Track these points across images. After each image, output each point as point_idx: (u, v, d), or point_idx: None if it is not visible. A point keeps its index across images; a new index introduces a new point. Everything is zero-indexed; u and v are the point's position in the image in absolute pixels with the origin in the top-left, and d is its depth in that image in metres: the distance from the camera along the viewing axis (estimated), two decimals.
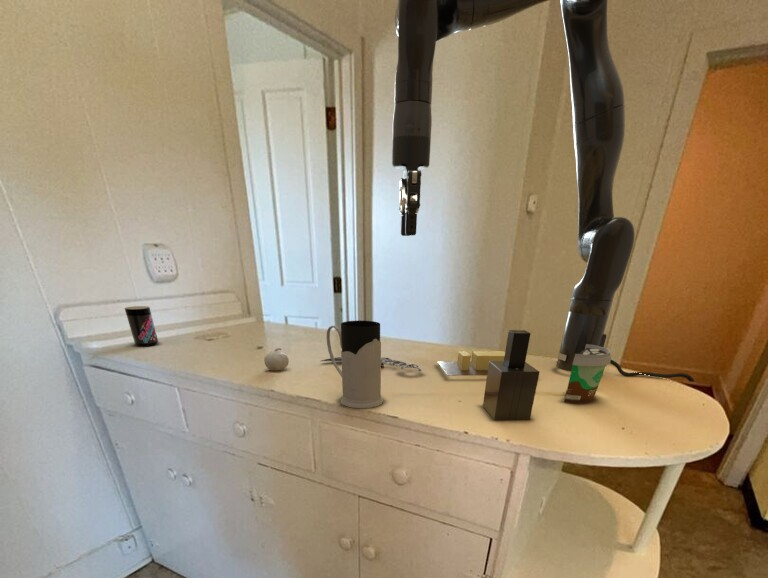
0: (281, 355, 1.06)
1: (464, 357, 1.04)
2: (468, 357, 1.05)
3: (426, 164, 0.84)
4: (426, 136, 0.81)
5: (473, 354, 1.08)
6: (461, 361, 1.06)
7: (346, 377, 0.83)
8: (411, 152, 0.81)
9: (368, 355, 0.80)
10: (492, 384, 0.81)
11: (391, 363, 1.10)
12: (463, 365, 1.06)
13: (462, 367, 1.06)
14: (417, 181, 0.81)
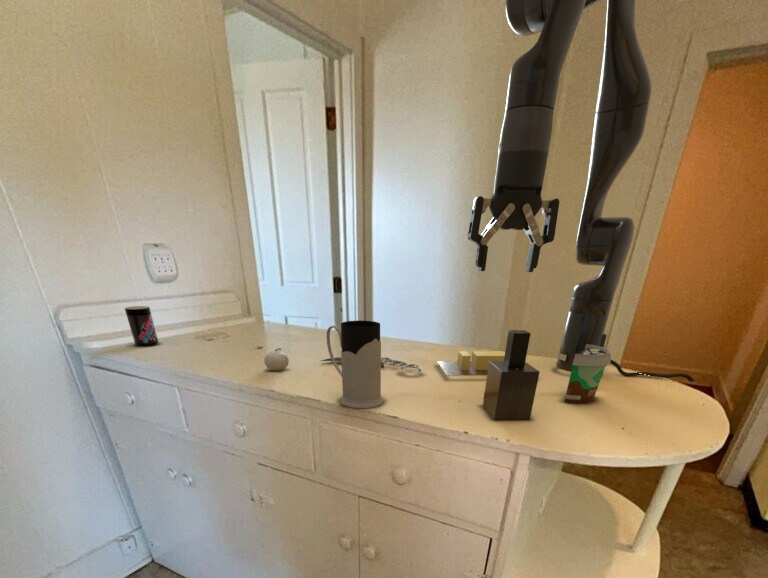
0: (281, 355, 1.06)
1: (464, 357, 1.04)
2: (468, 357, 1.05)
3: (509, 184, 0.66)
4: (510, 150, 0.64)
5: (473, 354, 1.08)
6: (461, 361, 1.06)
7: (346, 377, 0.83)
8: (496, 173, 0.67)
9: (368, 355, 0.80)
10: (492, 384, 0.81)
11: (391, 363, 1.10)
12: (463, 365, 1.06)
13: (462, 367, 1.06)
14: (474, 209, 0.69)
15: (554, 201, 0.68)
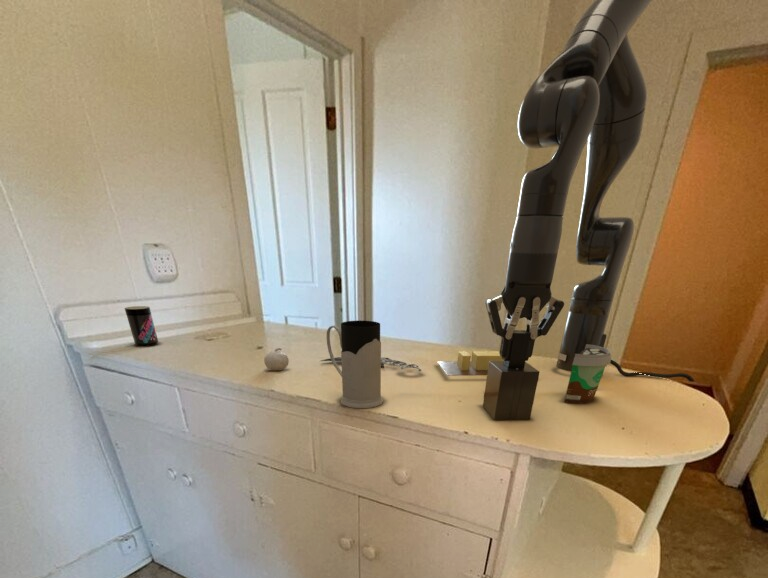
0: (281, 355, 1.06)
1: (464, 357, 1.04)
2: (468, 357, 1.05)
3: (521, 282, 0.69)
4: (522, 252, 0.67)
5: (473, 354, 1.08)
6: (461, 361, 1.06)
7: (346, 377, 0.83)
8: (507, 269, 0.71)
9: (368, 355, 0.80)
10: (492, 384, 0.81)
11: (391, 363, 1.10)
12: (463, 365, 1.06)
13: (462, 367, 1.06)
14: (490, 312, 0.73)
15: (560, 303, 0.73)
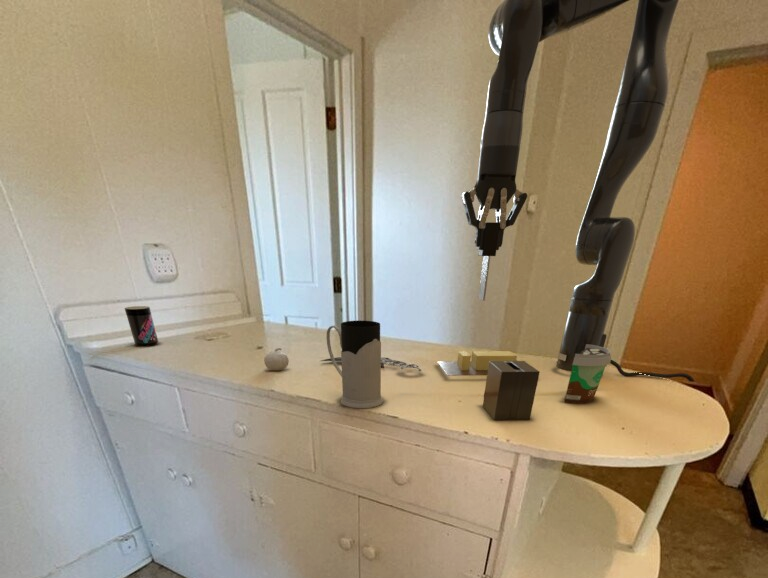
0: (281, 355, 1.06)
1: (464, 357, 1.04)
2: (468, 357, 1.05)
3: (490, 172, 0.83)
4: (490, 145, 0.81)
5: (473, 354, 1.08)
6: (461, 361, 1.06)
7: (346, 377, 0.83)
8: (479, 164, 0.84)
9: (368, 355, 0.80)
10: (492, 384, 0.81)
11: (391, 363, 1.10)
12: (463, 365, 1.06)
13: (462, 367, 1.06)
14: (465, 203, 0.87)
15: (524, 194, 0.86)
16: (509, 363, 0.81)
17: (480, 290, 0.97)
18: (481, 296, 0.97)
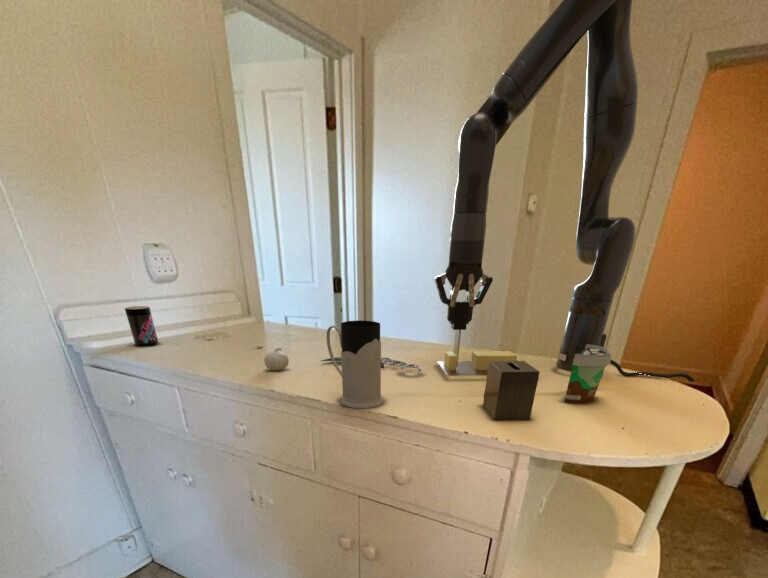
0: (281, 355, 1.06)
1: (450, 357, 1.04)
2: (454, 357, 1.04)
3: (458, 262, 0.93)
4: (457, 240, 0.91)
5: (473, 354, 1.08)
6: (448, 361, 1.06)
7: (346, 377, 0.83)
8: (449, 253, 0.95)
9: (368, 355, 0.80)
10: (492, 384, 0.81)
11: (391, 363, 1.10)
12: (450, 365, 1.05)
13: (449, 367, 1.06)
14: (437, 285, 0.97)
15: (489, 278, 0.97)
16: (509, 363, 0.81)
17: None
18: None
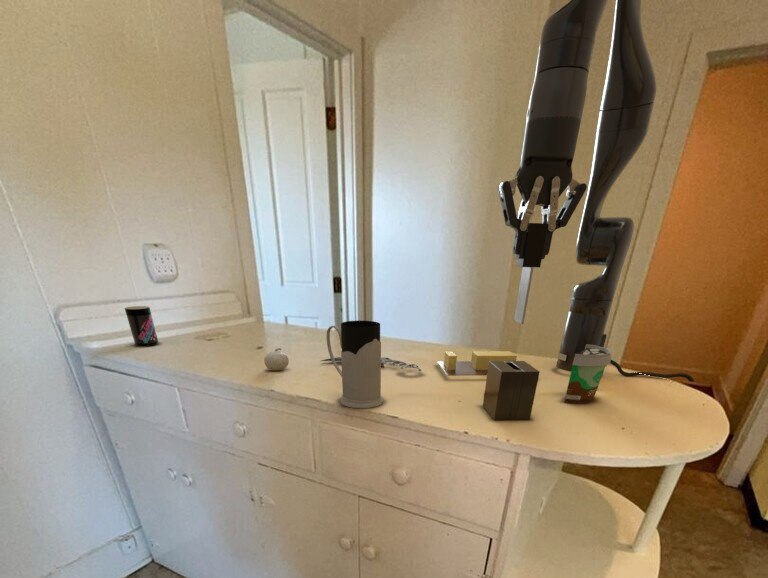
0: (281, 355, 1.06)
1: (450, 357, 1.04)
2: (454, 357, 1.04)
3: (539, 155, 0.61)
4: (541, 117, 0.59)
5: (473, 354, 1.08)
6: (447, 361, 1.06)
7: (346, 377, 0.83)
8: (523, 144, 0.63)
9: (368, 355, 0.80)
10: (492, 384, 0.81)
11: (391, 363, 1.10)
12: (449, 365, 1.05)
13: (448, 367, 1.06)
14: (503, 196, 0.65)
15: (582, 185, 0.65)
16: (509, 363, 0.81)
17: (517, 310, 0.75)
18: (518, 318, 0.75)
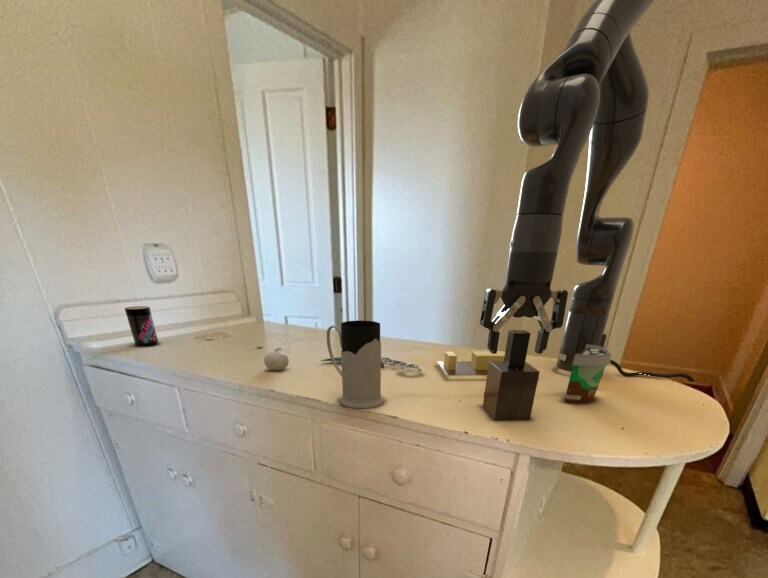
0: (281, 355, 1.06)
1: (450, 357, 1.04)
2: (454, 357, 1.04)
3: (521, 281, 0.69)
4: (522, 251, 0.67)
5: (473, 354, 1.08)
6: (447, 361, 1.06)
7: (346, 377, 0.83)
8: (507, 268, 0.71)
9: (368, 355, 0.80)
10: (492, 384, 0.81)
11: (391, 363, 1.10)
12: (449, 365, 1.05)
13: (448, 367, 1.06)
14: (486, 300, 0.72)
15: (563, 292, 0.72)
16: None
17: None
18: None
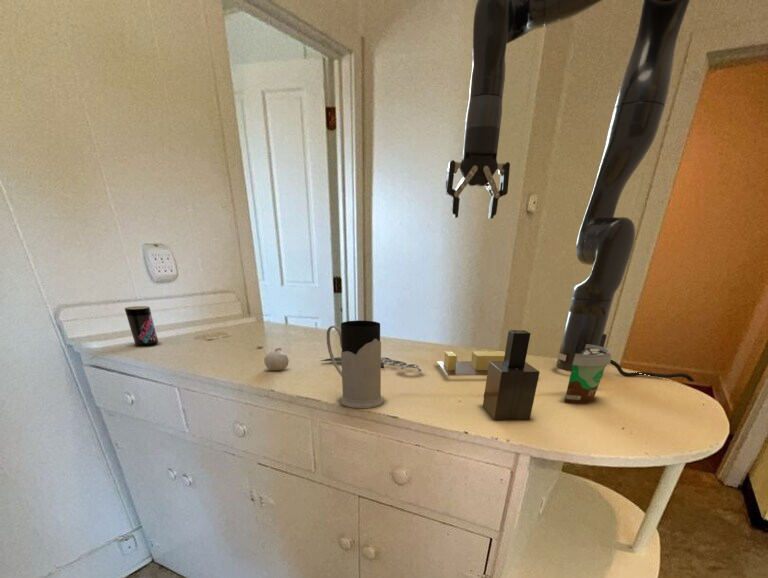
0: (281, 355, 1.06)
1: (450, 357, 1.04)
2: (454, 357, 1.04)
3: (473, 151, 0.92)
4: (473, 126, 0.90)
5: (473, 354, 1.08)
6: (447, 361, 1.06)
7: (346, 377, 0.83)
8: (464, 144, 0.94)
9: (368, 355, 0.80)
10: (492, 384, 0.81)
11: (391, 363, 1.10)
12: (449, 365, 1.05)
13: (448, 367, 1.06)
14: (448, 170, 0.96)
15: (506, 164, 0.95)
16: None
17: None
18: None
